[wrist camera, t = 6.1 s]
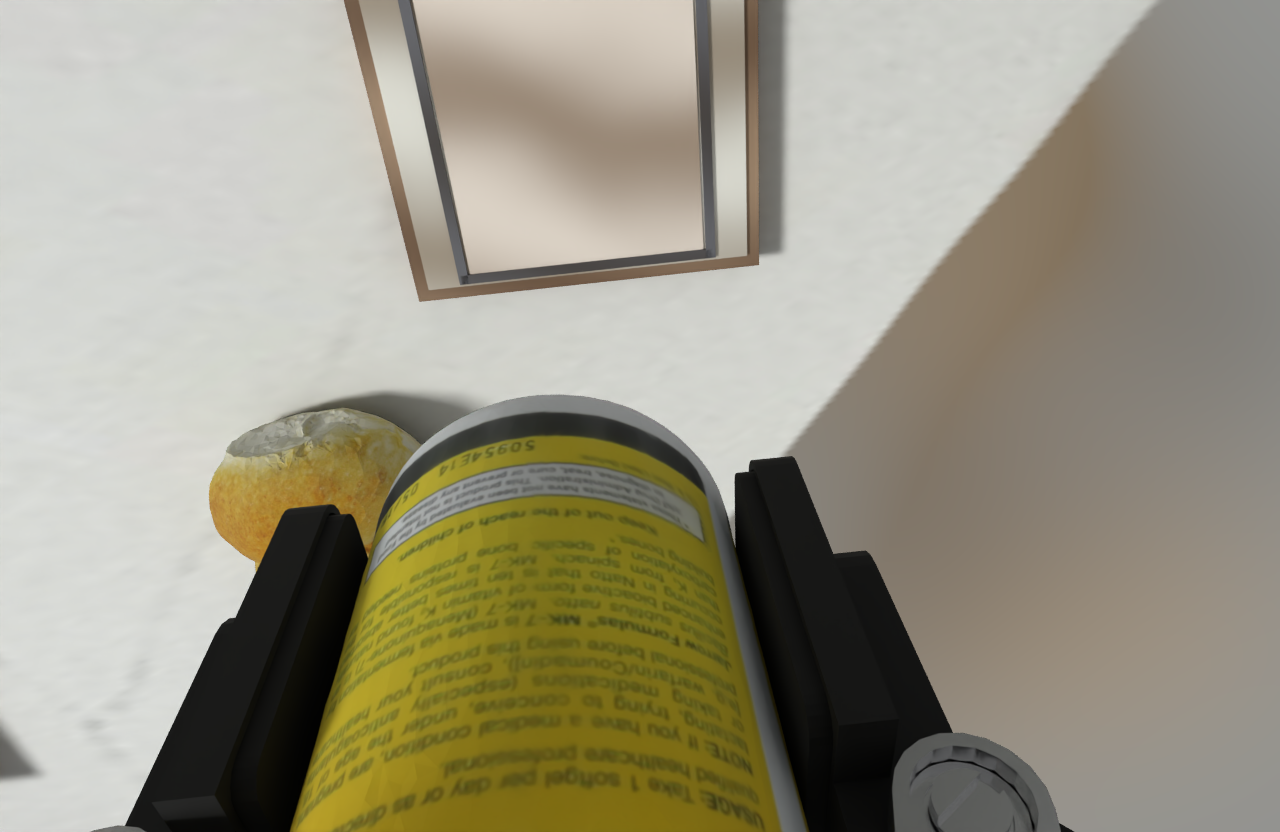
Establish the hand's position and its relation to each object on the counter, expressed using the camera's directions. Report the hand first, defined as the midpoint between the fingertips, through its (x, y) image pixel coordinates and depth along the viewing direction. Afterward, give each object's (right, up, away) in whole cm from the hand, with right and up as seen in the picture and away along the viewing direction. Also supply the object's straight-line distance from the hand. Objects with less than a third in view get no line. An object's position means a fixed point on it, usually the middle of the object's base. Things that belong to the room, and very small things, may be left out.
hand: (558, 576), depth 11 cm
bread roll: (-7, -2, +22) cm, 23 cm away
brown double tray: (-1, +13, +12) cm, 18 cm away
